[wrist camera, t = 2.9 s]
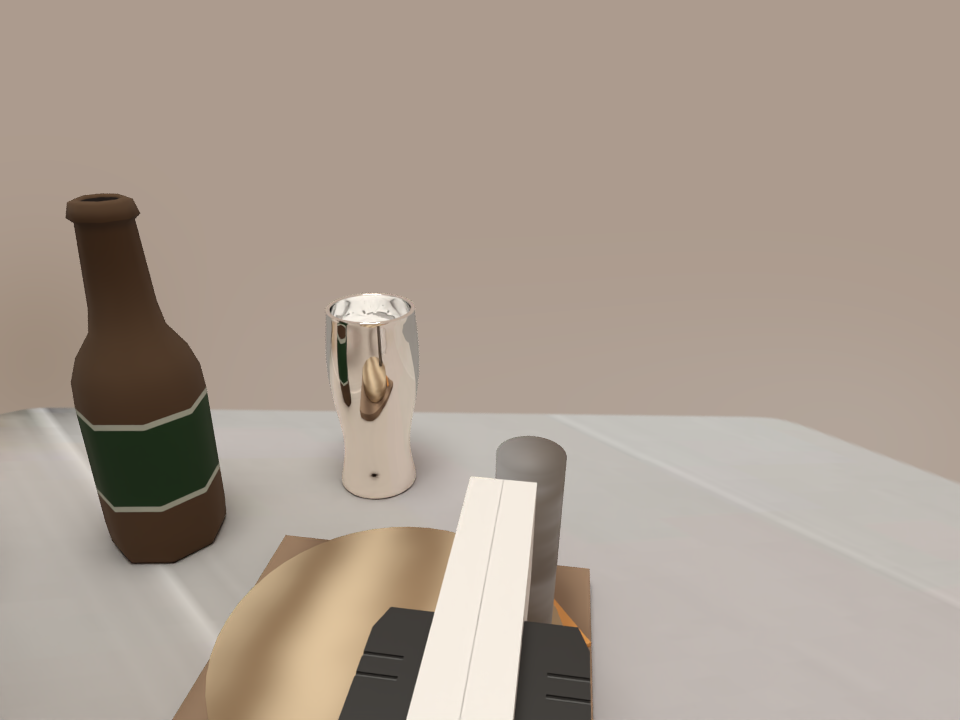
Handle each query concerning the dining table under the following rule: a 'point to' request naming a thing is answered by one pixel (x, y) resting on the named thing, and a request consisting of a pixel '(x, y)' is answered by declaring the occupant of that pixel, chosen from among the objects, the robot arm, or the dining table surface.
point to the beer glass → (374, 389)
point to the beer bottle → (140, 398)
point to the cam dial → (359, 602)
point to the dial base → (193, 711)
